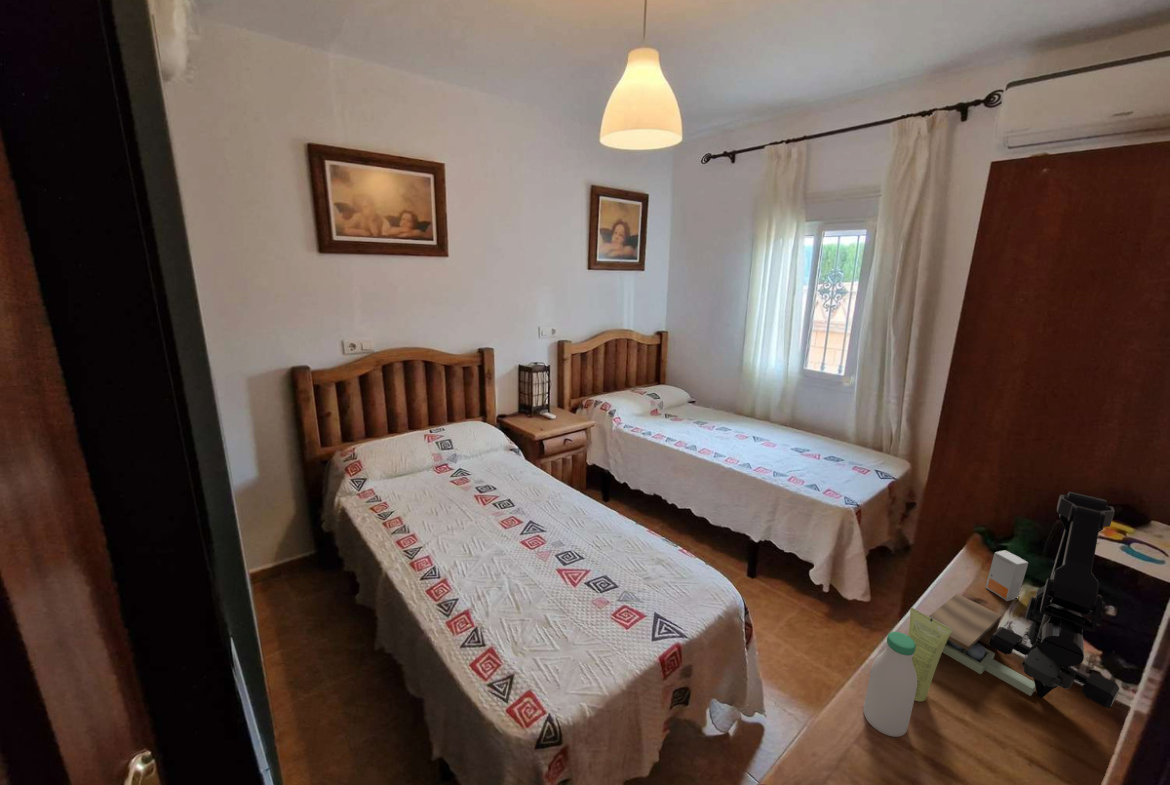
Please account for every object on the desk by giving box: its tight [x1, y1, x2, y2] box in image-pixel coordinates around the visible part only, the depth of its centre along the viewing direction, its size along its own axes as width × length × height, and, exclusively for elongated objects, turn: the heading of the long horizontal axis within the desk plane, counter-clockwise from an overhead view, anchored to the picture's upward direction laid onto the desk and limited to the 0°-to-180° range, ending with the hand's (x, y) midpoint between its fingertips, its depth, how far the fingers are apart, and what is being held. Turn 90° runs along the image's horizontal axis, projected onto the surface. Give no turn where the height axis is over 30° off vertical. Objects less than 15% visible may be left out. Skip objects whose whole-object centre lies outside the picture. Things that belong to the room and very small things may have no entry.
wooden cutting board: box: [928, 593, 1002, 650], centre depth 112 cm, size 18×9×10 cm, turn 122°
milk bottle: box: [862, 631, 917, 738], centre depth 94 cm, size 8×8×20 cm
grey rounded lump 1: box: [948, 640, 964, 653], centre depth 112 cm, size 3×3×4 cm
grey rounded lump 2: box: [966, 642, 985, 663], centre depth 109 cm, size 3×3×4 cm
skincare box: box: [985, 549, 1029, 602], centre depth 132 cm, size 6×4×12 cm
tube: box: [907, 607, 953, 702], centre depth 100 cm, size 6×5×20 cm
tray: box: [942, 640, 1036, 697], centre depth 108 cm, size 7×17×3 cm, turn 33°
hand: (1040, 696), depth 100 cm, fingers closed
